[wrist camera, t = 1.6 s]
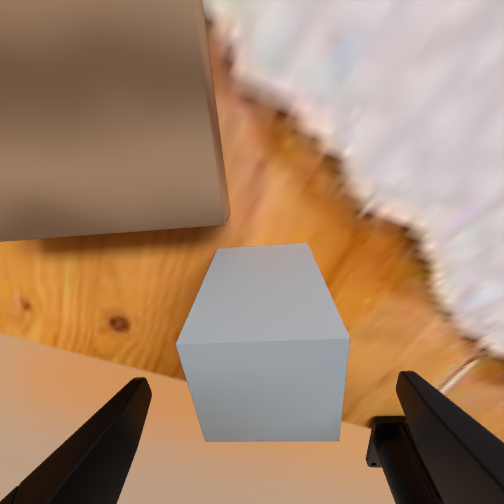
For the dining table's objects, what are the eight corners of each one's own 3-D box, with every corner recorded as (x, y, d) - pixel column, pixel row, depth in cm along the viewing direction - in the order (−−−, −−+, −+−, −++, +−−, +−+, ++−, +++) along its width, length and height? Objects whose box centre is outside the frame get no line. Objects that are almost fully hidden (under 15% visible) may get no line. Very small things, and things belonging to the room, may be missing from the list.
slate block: (306, 314, 15) (338, 441, 9) (229, 318, 15) (205, 441, 9) (307, 242, 13) (349, 338, 7) (217, 248, 13) (175, 344, 7)
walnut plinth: (230, 212, 12) (224, 224, 10) (36, 228, 13) (0, 241, 11) (187, -111, 8) (164, -190, 6) (-104, -56, 9) (-203, -110, 7)
